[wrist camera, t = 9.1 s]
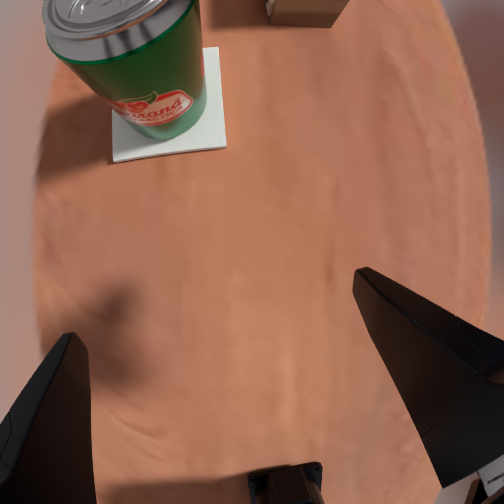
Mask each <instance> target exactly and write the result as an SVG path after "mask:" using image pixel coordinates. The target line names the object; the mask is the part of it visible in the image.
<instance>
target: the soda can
mask: <svg viewBox="0 0 504 504" xmlns="http://www.w3.org/2000/svg"><path fill="white" fill-rule="evenodd" d="M42 17H43V22H44V24H45V26H46V40H47V43H48V46H49V47H50V49H51V51H52V52H53V53H54V54H55V55H56V56H57V57H58V58H59V59H60V60H61V61H62V62H63V63H64V64H65V65H66V66H67V67H69V68H70V69H71V70H72V71H73V72H74V73H75V74H76V75H77V76H78V77H79V78H80V79H81V80H82V81H83V82H84V83H86V84H87V85H88V86H89V87H90V88H91V89H92V90H93V91H94V92H95V93H96V94H97V95H98V96H99V97H100V98H101V99H102V100H104V101H105V102H106V103H107V104H108V105H109V106H110V107H111V108H112V109H113V110H114V111H115V112H116V113H117V114H118V115H119V116H120V117H121V118H122V119H124V120H125V121H126V122H127V123H128V124H129V125H130V126H131V127H132V128H133V129H134V130H135V131H136V132H138V133H139V134H141V135H143V136H145V137H148V138H151V139H169V138H173V137H176V136H179V135H181V134H183V133H185V132H186V131H188V130H189V129H191V128H192V127H193V126H194V125H195V124H196V123H197V122H198V120H199V119H200V117H201V116H202V114H203V112H204V110H205V107H206V102H207V90H206V79H205V68H204V56H203V44H202V31H201V18H200V4H199V0H44V3H43V7H42Z"/></svg>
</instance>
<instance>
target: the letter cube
mask: <svg viewBox="0 0 504 504" xmlns="http://www.w3.org/2000/svg"><path fill="white" fill-rule="evenodd" d="M348 2H349V0H265V3H266V9H267V15H268V16H269V19H270V25H296V26H312V27H324V28H331V27H332V25H333V24H334V22H335V21H336V19H337V18H338V17H339V15H340V14H341V12H342V11H343V9H344V8H345V6H346V5H347V3H348Z"/></svg>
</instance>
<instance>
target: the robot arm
mask: <svg viewBox="0 0 504 504" xmlns="http://www.w3.org/2000/svg"><path fill="white" fill-rule="evenodd" d="M353 295H354V298H355V300H356V303H357V305H358V308H359V310H360V312H361V315H362V317H363V320H364V322H365V325H366V327H367V330H368V332H369V335H370V337H371V339H372V341H373V342H374V344H375V346H376V348H377V350H378V352H379V354H380V356H381V358H382V360H383V362H384V364H385V365H386V367H387V369H388V371H389V373H390V375H391V377H392V379H393V381H394V383H395V385H396V387H397V389H398V391H399V393H400V395H401V397H402V399H403V401H404V404H405V406H406V408H407V410H408V412H409V414H410V416H411V418H412V420H413V422H414V425H415V427H416V429H417V431H418V433H419V435H420V438H422V439H421V440H422V442H423V444H424V447H425V449H426V451H427V453H428V456H429V458H430V460H431V463H432V465H433V467H434V470H435V472H436V474H437V477H438V479H439V481H440V484H441V486H442V488H443V489H444V488H446V487H447V486H450V485H452V484H454V483H456V482H458V481H459V480H461V479H463V478H465V477H467V476H469V475H471V474H472V473H474V472H476V471H477V473H478V475H479V477H478V478H477V479H475V480H474V481H472V483H471V486H470V489H469V493H468V495H467V498H466V501H465V503H464V504H504V341H503V340H501V339H499V338H497V337H495V336H493V335H491V334H489V333H487V332H485V331H483V330H481V329H479V328H477V327H475V326H473V325H472V324H470V323H468V322H466V321H464V320H463V319H461V318H459V317H458V316H456V317H455V315H454V314H452V313H450V312H449V311H447V310H445V309H444V308H442V307H440V306H438V305H437V304H435V303H433V302H431V301H429V300H428V299H426V298H424V297H422V296H421V295H419V294H417V293H415V292H413V291H412V290H410V289H408V288H406V287H404V286H403V285H401V284H399V283H397V282H395V281H393V280H392V279H390V278H388V277H386V276H384V275H382V274H380V273H379V272H377V271H375V270H373V269H371V268H369V267H363V268H359V269H357V270H355V273H354V280H353ZM247 479H248V485H249V490H250V496H251V501H252V504H325V503H324V501H323V498H322V495H321V482H322V465H321V463H319V462H316V463H311V464H307V465H302V466H296V467H291V468H286V469H280V470H273V471H267V472H259V473H252V474H249V475H248V476H247ZM0 504H97V501H96V493H95V484H94V473H93V459H92V441H91V389H90V376H89V358H88V350H87V348H86V346H85V345H84V343H83V342H82V341H81V339H80V338H79V337H78V335H77V334H76V333H75V332H68V333H64V334H62V336H61V337H60V338H59V340H58V341H57V342H56V344H55V345H54V346H53V348H52V349H51V350H50V352H49V353H48V354H47V356H46V357H45V358H44V360H43V361H42V363H41V364H40V365H39V367H38V368H37V370H36V371H35V372H34V374H33V375H32V377H31V378H30V380H29V381H28V383H27V384H26V386H25V387H24V389H23V390H22V391H21V393H20V395H19V396H18V398H17V399H16V400H15V402H14V404H13V405H12V407H11V408H10V410H9V412H8V413H7V415H6V416H5V418H4V419H3V421H2V422H1V424H0Z"/></svg>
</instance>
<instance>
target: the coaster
mask: <svg viewBox="0 0 504 504" xmlns="http://www.w3.org/2000/svg"><path fill="white" fill-rule="evenodd" d="M203 56H204V68H205V79H206V90H207V102H206V107H205V110H204V112H203V114H202V116H201V117H200V119H199V120H198V122H197V123H196V124H195V125H194V126H193V127H192V128H191V129H189V130H188V131H186V132H185V133H183V134H181V135H179V136H176V137H173V138H169V139H151V138H148V137H145V136H143V135H141V134H139V133H138V132H136V131H135V130H134V129H133V128H132V127H131V126H130V125H129V124H128V123H127V122H126V121H125V120H124V119H122V118H121V117H120V116H119V115H118V114H117V113H116V112H115V111H114V110H113V109H112V146H113V161H114V162H116V163H117V162H122V161H128V160H134V159H140V158H147V157H154V156H160V155H168V154H175V153H183V152H191V151H200V150H210V149H220V148H226V136H225V125H224V113H223V101H222V88H221V76H220V63H219V50H218V47H211V48H203Z"/></svg>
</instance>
